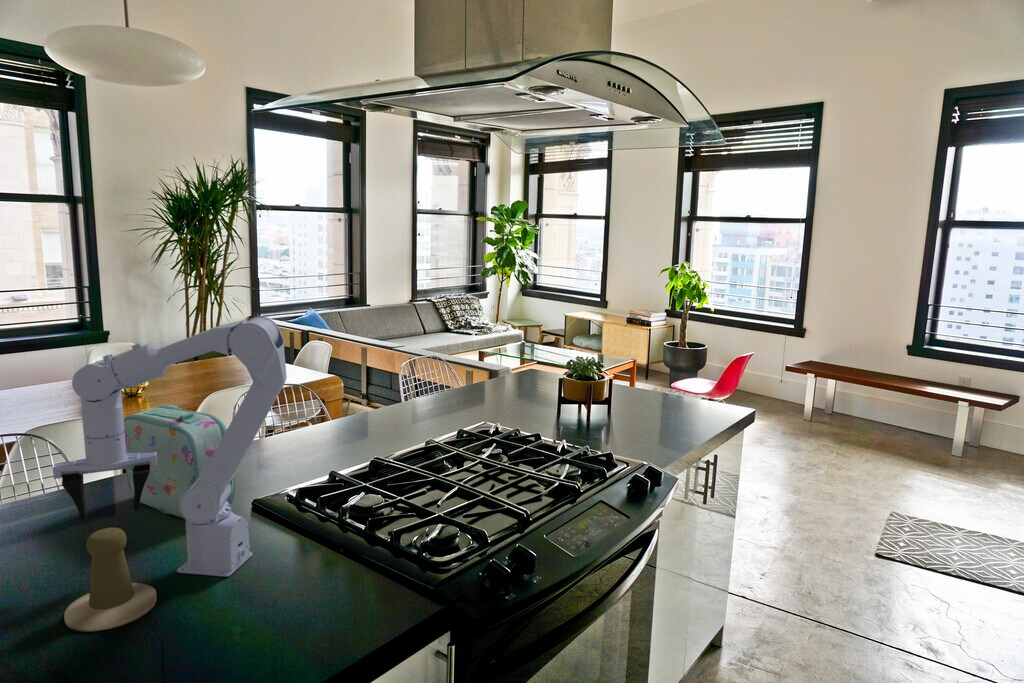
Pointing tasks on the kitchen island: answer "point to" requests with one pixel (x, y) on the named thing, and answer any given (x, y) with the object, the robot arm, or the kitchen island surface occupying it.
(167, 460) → the lunch box
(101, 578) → the pepper shaker
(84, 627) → the cork trivet
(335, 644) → the kitchen island surface
